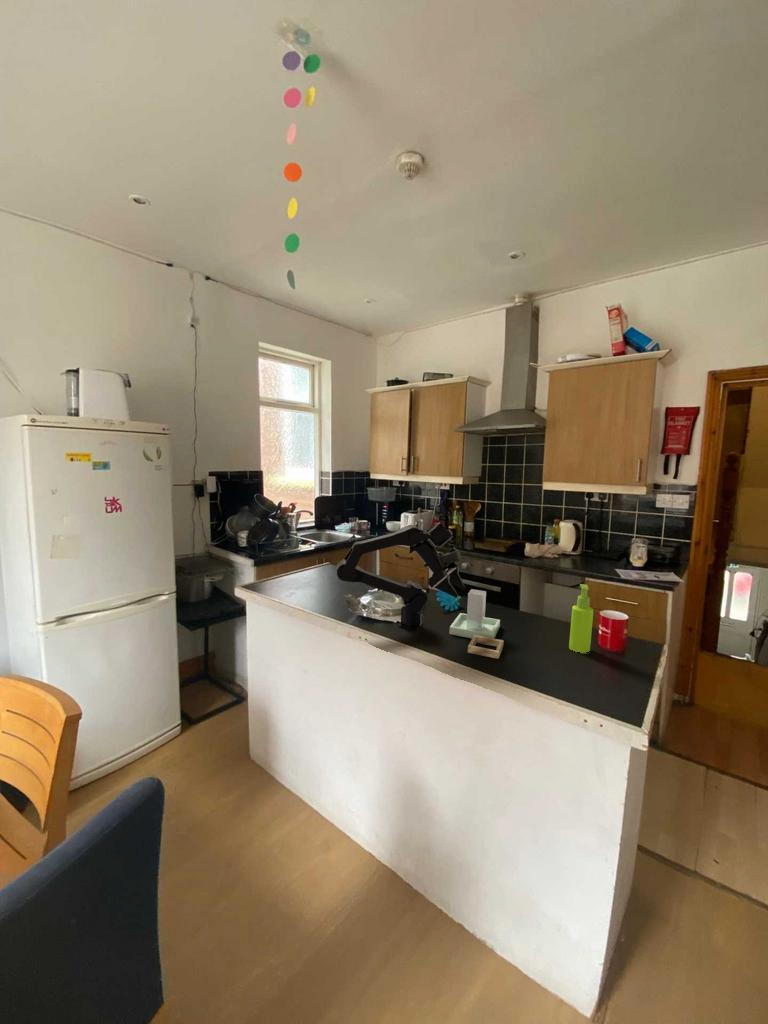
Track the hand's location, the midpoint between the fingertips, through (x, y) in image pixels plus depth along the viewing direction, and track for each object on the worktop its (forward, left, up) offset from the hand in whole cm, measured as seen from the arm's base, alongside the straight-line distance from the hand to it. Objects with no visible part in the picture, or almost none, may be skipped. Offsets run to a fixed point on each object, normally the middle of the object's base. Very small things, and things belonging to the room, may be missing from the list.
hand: (460, 592), depth 140 cm
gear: (-9, +21, -14) cm, 27 cm away
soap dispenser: (+37, +5, -14) cm, 39 cm away
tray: (+5, +4, -14) cm, 15 cm away
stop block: (+5, +4, -13) cm, 14 cm away
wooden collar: (+11, -9, -14) cm, 19 cm away
